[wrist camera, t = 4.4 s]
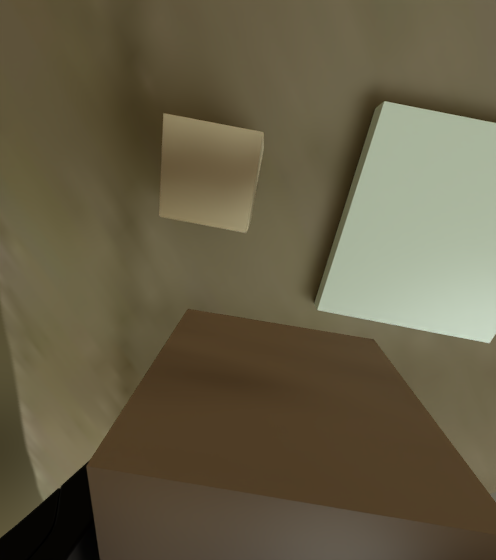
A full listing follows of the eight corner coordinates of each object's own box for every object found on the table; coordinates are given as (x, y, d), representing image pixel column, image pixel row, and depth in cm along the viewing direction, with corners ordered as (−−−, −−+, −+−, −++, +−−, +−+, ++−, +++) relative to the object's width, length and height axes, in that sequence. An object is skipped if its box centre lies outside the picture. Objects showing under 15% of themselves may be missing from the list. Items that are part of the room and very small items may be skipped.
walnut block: (324, 461, 10) (373, 681, 6) (179, 438, 10) (111, 636, 6) (373, 339, 8) (522, 539, 3) (187, 308, 8) (86, 465, 3)
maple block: (250, 222, 18) (246, 232, 13) (186, 210, 18) (158, 216, 13) (263, 150, 16) (263, 132, 12) (192, 136, 16) (163, 113, 12)
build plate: (476, 334, 20) (489, 343, 19) (314, 303, 20) (317, 309, 19) (590, 150, 15) (617, 146, 14) (375, 107, 15) (384, 101, 14)
